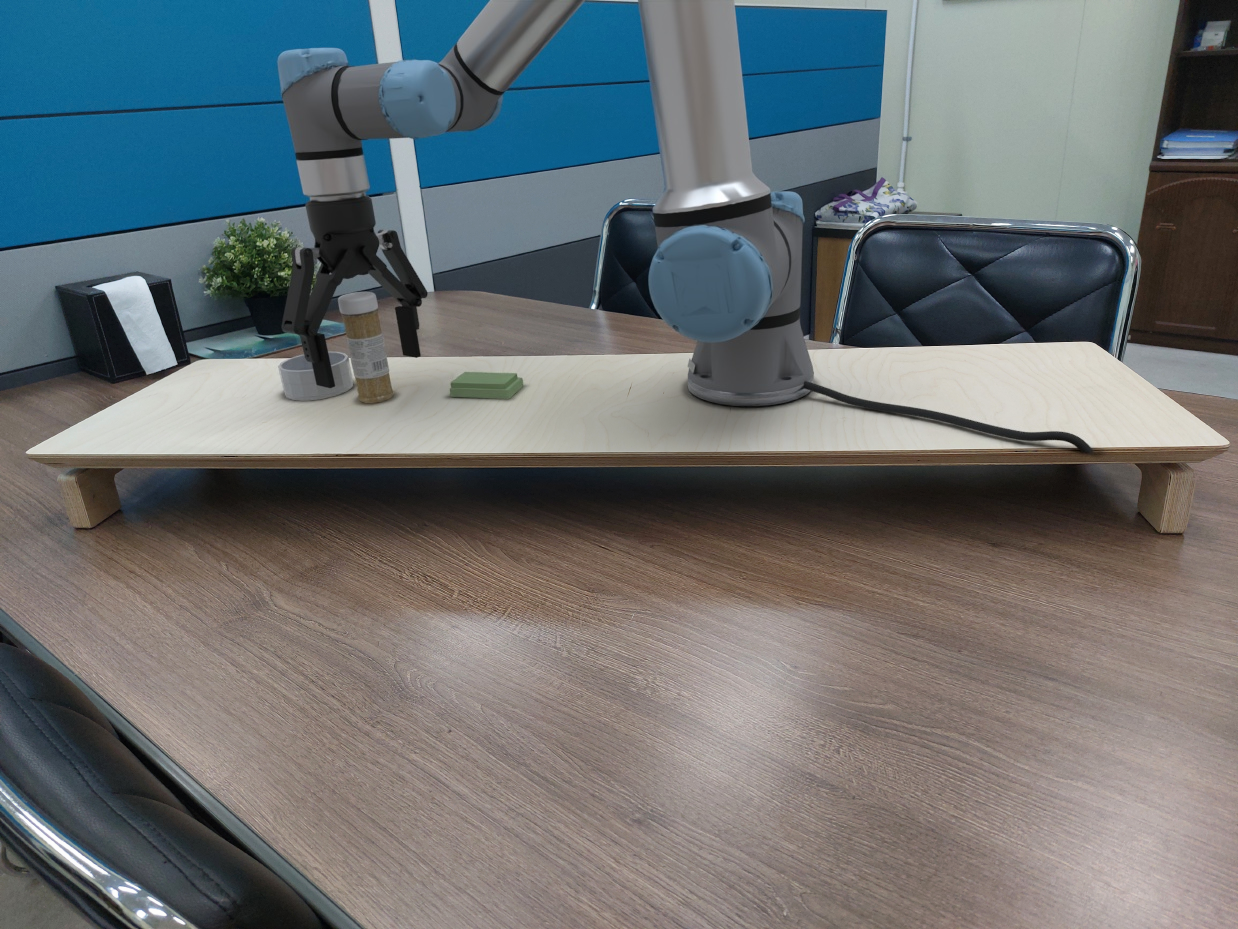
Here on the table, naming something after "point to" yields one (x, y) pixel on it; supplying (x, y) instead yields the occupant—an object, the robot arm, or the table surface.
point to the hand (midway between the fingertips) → (371, 370)
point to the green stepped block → (486, 385)
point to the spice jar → (366, 346)
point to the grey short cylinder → (302, 380)
